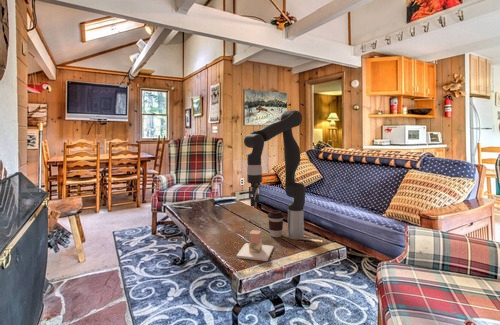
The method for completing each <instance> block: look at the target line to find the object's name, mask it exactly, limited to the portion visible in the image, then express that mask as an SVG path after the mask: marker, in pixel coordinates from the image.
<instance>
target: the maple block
mask: <svg viewBox="0 0 500 325" xmlns="http://www.w3.org/2000/svg"><path fill="white" fill-rule="evenodd" d="M262 245H263V239H261V241H260V243H259V244H257V243H250V241H249V252H252V253H260V251H261V250H262Z"/></svg>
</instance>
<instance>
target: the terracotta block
mask: <svg viewBox="0 0 500 325" xmlns="http://www.w3.org/2000/svg"><path fill="white" fill-rule="evenodd" d="M261 240H262V230H254V229H251V231H250V232H249V242H250V243H257V244H259V243H260V241H261Z"/></svg>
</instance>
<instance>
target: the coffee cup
mask: <svg viewBox="0 0 500 325" xmlns="http://www.w3.org/2000/svg"><path fill="white" fill-rule="evenodd" d="M267 217H268V228H269V236H270V237H273V238H280V237H282V236H283V235H282V234H283V228H284V218H285V214H284V213H283V212H282V210H278V209H275V210H270V211H269V212H268V213H267Z"/></svg>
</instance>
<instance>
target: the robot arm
mask: <svg viewBox="0 0 500 325" xmlns="http://www.w3.org/2000/svg"><path fill="white" fill-rule="evenodd" d="M302 121H303V115H302V113H301V112H300V110H299V111H298V110H287V111H283V112H282V113H281V115H280V120H278V121H276V122H273V123H269V124H268V125H266V126H264V127H263V128H261V129H258V130H256V131H253V132H250V133H249V134H247V135H246V136H245V137H244V139H243V144H244V146H245V147H247V148H249V149H252V151H251V152H248V154H247V156H246V157H247V158H246V160H247V164H246V166H247V167H246V173H247V174H246V176H247V177H246V178H247V180H246V182H247V183H248V184H250V186H249V187H248V199H249V200H250V207H256V203H259V202H260V194H261V183H262V182H263V172H262V171H263V170H262V168H263V167H262V154H263V150H264V146H265V142H268V141H270V140H272V139H273V138H275V137H276V136H278V135H280V134H282V141H283V149H284V151H283V155H284V167H285V168H284V171H285V175H284V177H285V178H284V179H285V181H284V190H285V195H286V196H287V197H289V198H291V199H293V202H290V203H288V204H287V238H288V239H291V240H304V236H305V234H304V231H305V226H304V225H305V224H304V223H305V220H304V209H305V208H304V207H305V202H306V187H305V184H304V183H300V182H296V179H295V178H296V172H297V169H298V168H299V165H300V163H301V149H300V145H299V144H298V142H297V141H296V139H295V137H294V134H293V130H292V129H293V128H296V127H299V126H300V125H301V124H302Z"/></svg>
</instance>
